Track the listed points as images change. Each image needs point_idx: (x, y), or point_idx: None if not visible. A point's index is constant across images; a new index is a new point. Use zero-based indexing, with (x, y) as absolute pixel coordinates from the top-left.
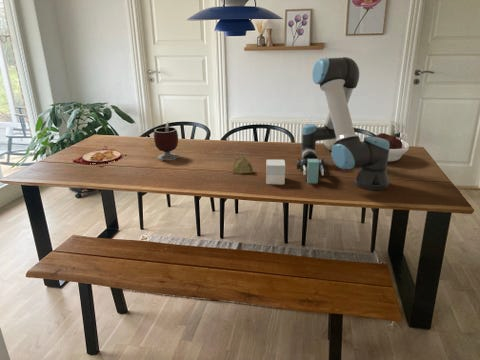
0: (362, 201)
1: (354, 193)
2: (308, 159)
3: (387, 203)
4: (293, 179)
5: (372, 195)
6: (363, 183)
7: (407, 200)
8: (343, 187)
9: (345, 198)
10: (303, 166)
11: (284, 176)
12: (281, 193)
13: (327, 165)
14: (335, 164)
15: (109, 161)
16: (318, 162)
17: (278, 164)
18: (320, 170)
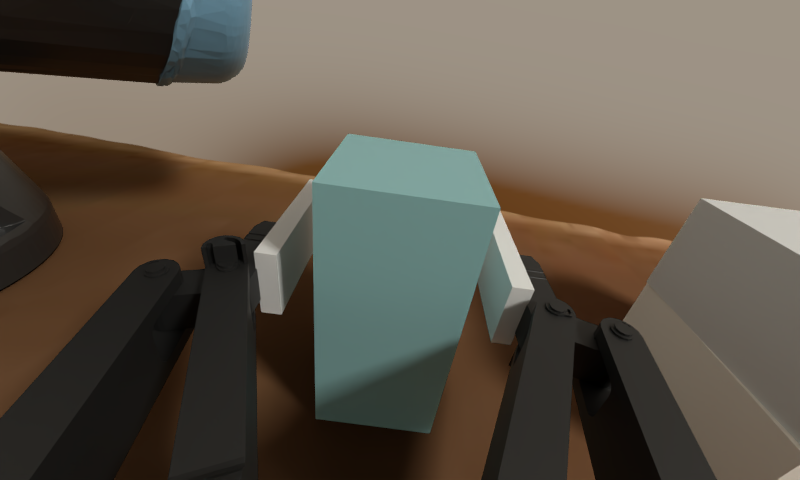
0: (219, 166)
1: (186, 204)
2: (484, 193)
3: (133, 149)
4: (576, 447)
5: (113, 183)
6: (45, 196)
7: (11, 146)
8: (181, 257)
9: (273, 185)
10: (519, 259)
11: (644, 291)
12: (568, 246)
13: (157, 260)
14: (243, 64)
15: None
16: (355, 137)
17: (798, 222)
18: (283, 305)
